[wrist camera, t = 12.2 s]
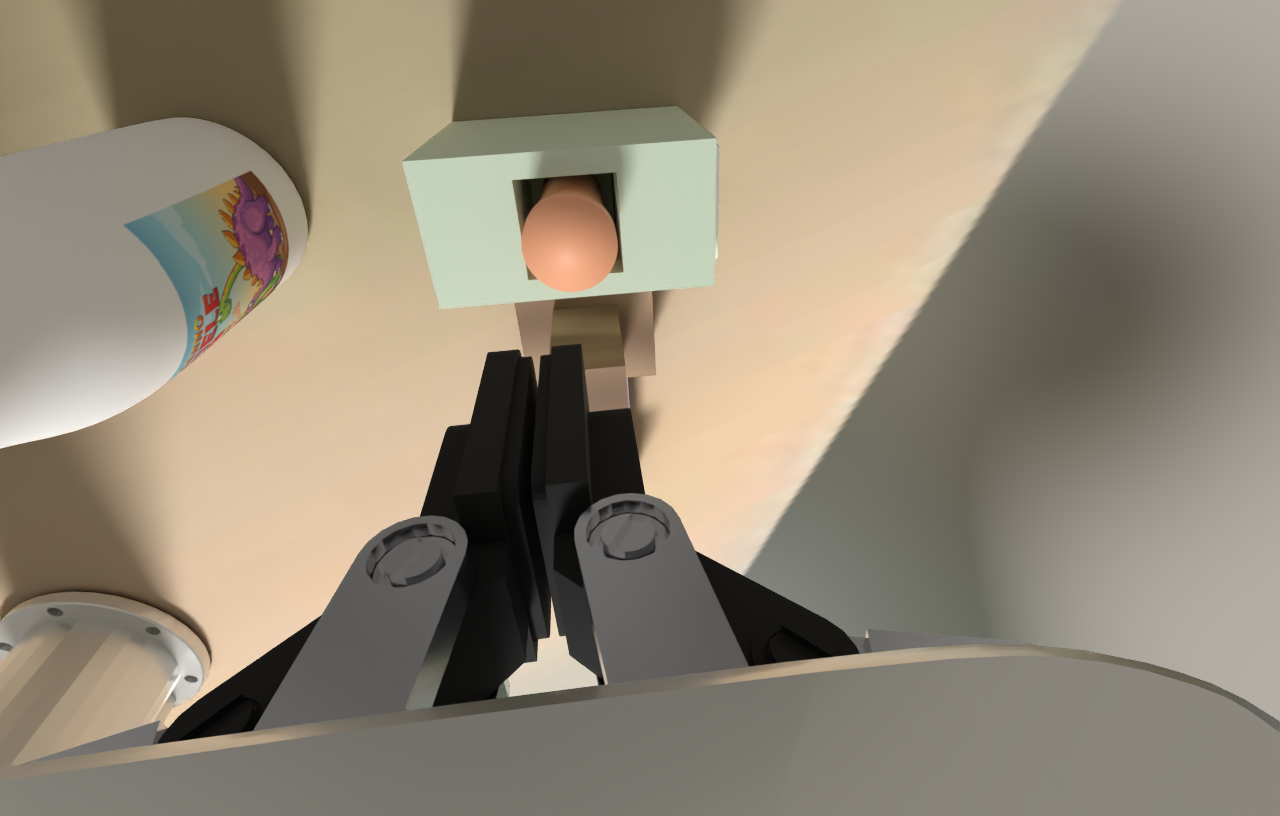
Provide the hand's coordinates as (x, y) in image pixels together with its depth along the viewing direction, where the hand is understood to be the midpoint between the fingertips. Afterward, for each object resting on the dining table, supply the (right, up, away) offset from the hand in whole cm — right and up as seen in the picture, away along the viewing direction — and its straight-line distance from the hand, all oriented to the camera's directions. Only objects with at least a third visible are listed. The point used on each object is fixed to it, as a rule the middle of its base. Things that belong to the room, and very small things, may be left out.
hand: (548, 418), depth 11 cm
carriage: (-1, +5, +20) cm, 21 cm away
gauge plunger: (-1, +9, +13) cm, 16 cm away
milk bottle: (-17, +9, +16) cm, 26 cm away
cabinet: (-1, +11, +17) cm, 20 cm away
